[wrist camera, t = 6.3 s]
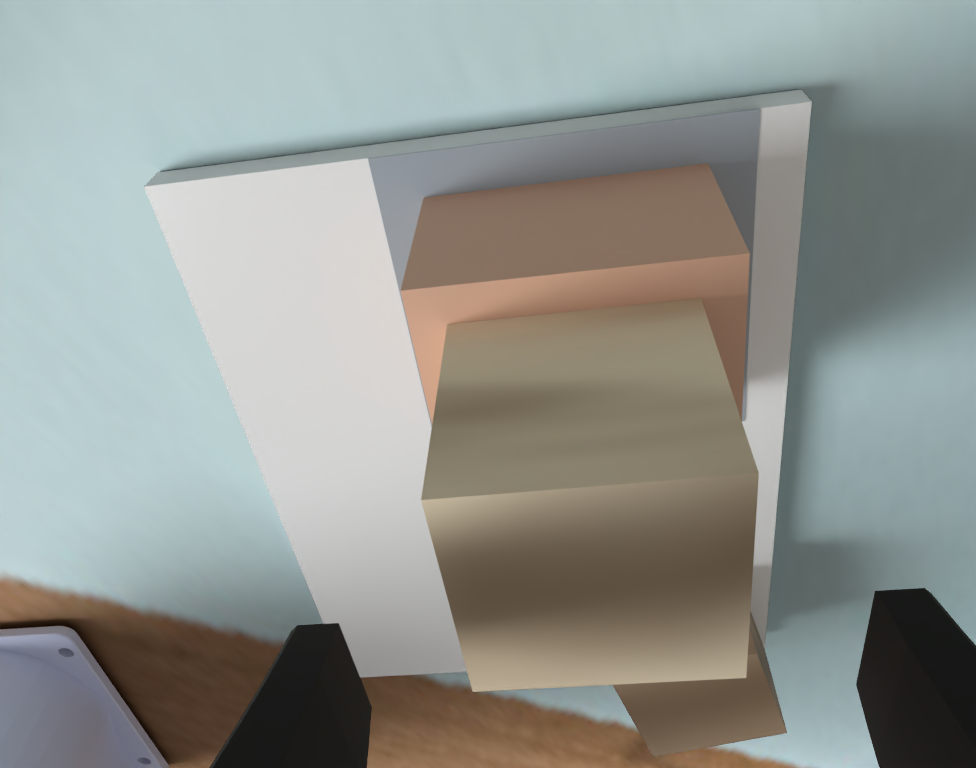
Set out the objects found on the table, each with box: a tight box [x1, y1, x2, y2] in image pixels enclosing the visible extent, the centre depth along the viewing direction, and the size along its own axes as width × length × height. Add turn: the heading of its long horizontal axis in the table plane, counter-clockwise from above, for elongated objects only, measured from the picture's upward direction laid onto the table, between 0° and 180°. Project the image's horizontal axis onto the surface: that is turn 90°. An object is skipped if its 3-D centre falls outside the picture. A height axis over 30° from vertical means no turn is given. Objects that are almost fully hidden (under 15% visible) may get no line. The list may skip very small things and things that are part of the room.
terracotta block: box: [400, 163, 750, 423], centre depth 18 cm, size 6×6×4 cm
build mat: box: [144, 89, 812, 678], centre depth 23 cm, size 18×14×1 cm
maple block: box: [421, 298, 759, 692], centre depth 14 cm, size 4×4×4 cm
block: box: [613, 611, 787, 757], centre depth 25 cm, size 4×4×3 cm
